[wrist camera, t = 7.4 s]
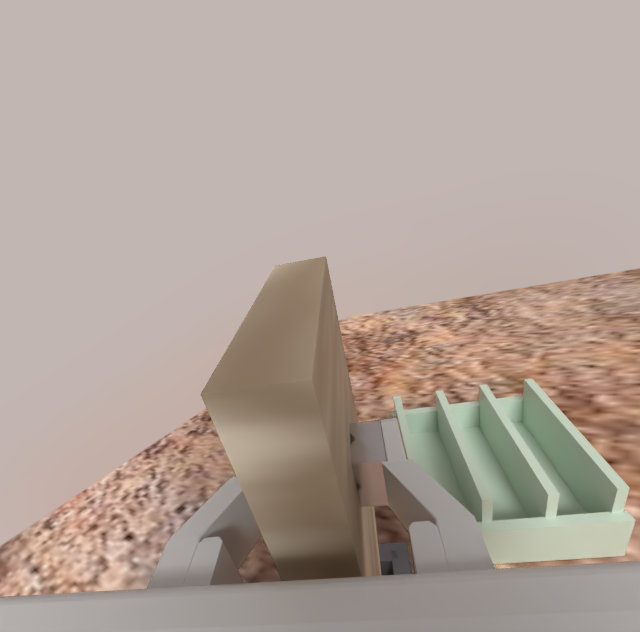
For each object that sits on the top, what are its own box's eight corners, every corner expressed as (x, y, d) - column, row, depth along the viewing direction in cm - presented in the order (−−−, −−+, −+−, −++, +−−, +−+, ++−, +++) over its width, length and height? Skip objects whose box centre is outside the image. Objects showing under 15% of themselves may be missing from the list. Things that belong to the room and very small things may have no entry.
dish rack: (422, 568, 21) (415, 514, 19) (395, 438, 31) (388, 393, 29) (624, 555, 20) (643, 495, 18) (528, 423, 30) (532, 374, 28)
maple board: (339, 713, 11) (200, 394, 5) (338, 506, 17) (275, 265, 12) (396, 713, 10) (312, 379, 5) (373, 503, 17) (326, 256, 11)
